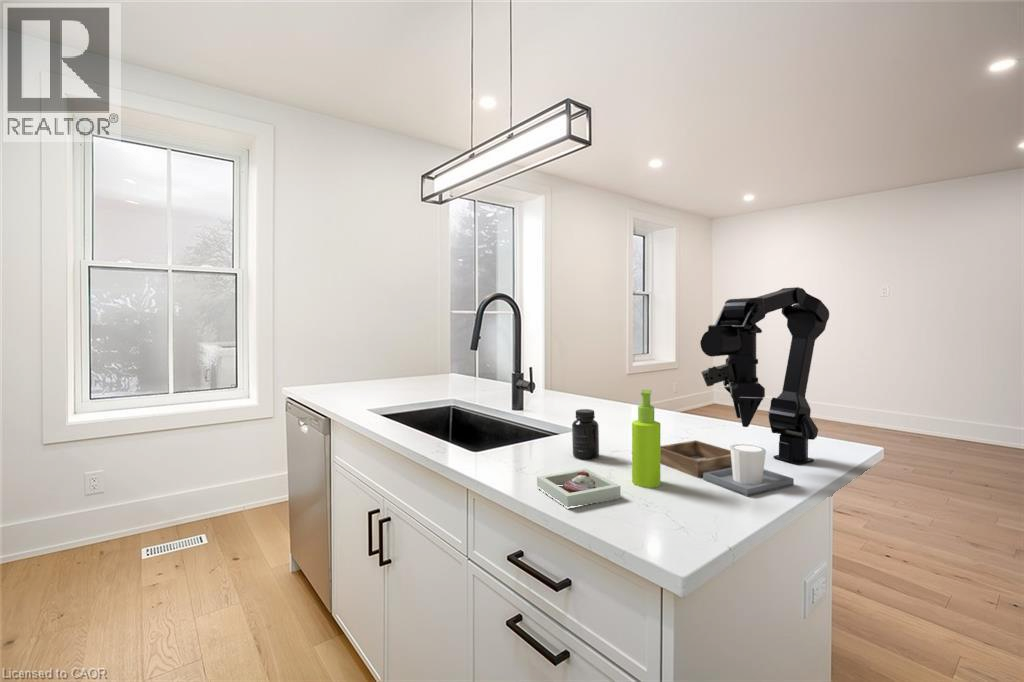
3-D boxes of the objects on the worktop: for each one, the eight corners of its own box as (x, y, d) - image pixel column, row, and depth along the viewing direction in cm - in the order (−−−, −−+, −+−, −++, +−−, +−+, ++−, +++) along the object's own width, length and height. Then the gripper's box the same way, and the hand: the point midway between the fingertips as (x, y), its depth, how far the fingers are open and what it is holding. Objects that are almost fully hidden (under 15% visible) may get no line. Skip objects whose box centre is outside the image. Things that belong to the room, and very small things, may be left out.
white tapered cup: (770, 486, 96) (770, 453, 95) (734, 484, 97) (735, 451, 96) (759, 475, 102) (759, 444, 102) (726, 474, 104) (726, 443, 103)
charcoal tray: (747, 470, 107) (747, 464, 107) (793, 485, 97) (793, 478, 97) (703, 479, 102) (703, 472, 101) (747, 496, 92) (747, 489, 91)
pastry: (604, 493, 95) (604, 469, 95) (593, 506, 88) (593, 481, 88) (567, 487, 98) (567, 464, 98) (554, 499, 92) (554, 475, 92)
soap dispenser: (660, 478, 103) (660, 388, 102) (660, 488, 96) (660, 393, 96) (633, 475, 105) (633, 387, 104) (631, 485, 98) (630, 392, 97)
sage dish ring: (585, 479, 103) (585, 468, 102) (620, 498, 91) (620, 485, 91) (537, 488, 97) (536, 476, 97) (567, 509, 86) (567, 496, 86)
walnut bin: (695, 453, 121) (695, 440, 121) (742, 468, 109) (742, 453, 109) (654, 460, 116) (654, 446, 115) (697, 477, 103) (698, 462, 103)
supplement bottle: (580, 451, 125) (579, 407, 124) (603, 455, 121) (603, 409, 120) (567, 457, 119) (567, 411, 119) (591, 461, 115) (591, 414, 115)
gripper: (701, 350, 116) (701, 412, 117) (706, 357, 98) (706, 430, 99) (750, 350, 112) (750, 414, 113) (765, 357, 95) (765, 432, 95)
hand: (742, 422), depth 105 cm, fingers open, 9 cm apart
